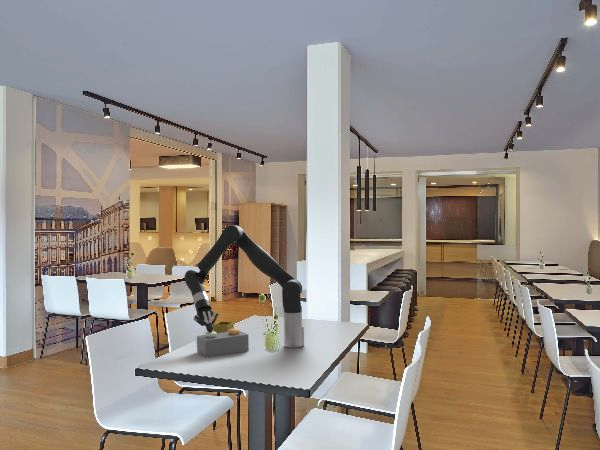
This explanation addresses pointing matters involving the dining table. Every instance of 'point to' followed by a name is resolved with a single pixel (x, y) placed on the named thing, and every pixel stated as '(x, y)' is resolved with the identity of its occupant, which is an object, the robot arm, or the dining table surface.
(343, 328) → the dining table surface
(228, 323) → the flower pot
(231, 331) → the orange button
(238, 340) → the block
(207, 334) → the sage button
